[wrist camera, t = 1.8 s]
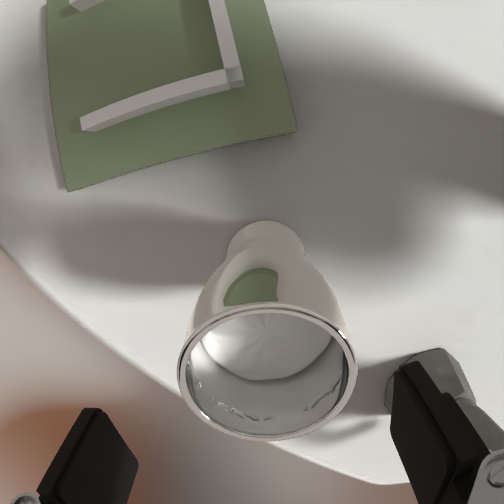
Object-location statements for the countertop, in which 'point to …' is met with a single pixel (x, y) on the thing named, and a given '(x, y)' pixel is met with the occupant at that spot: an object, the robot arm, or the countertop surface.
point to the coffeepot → (455, 394)
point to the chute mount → (159, 82)
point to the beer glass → (266, 342)
